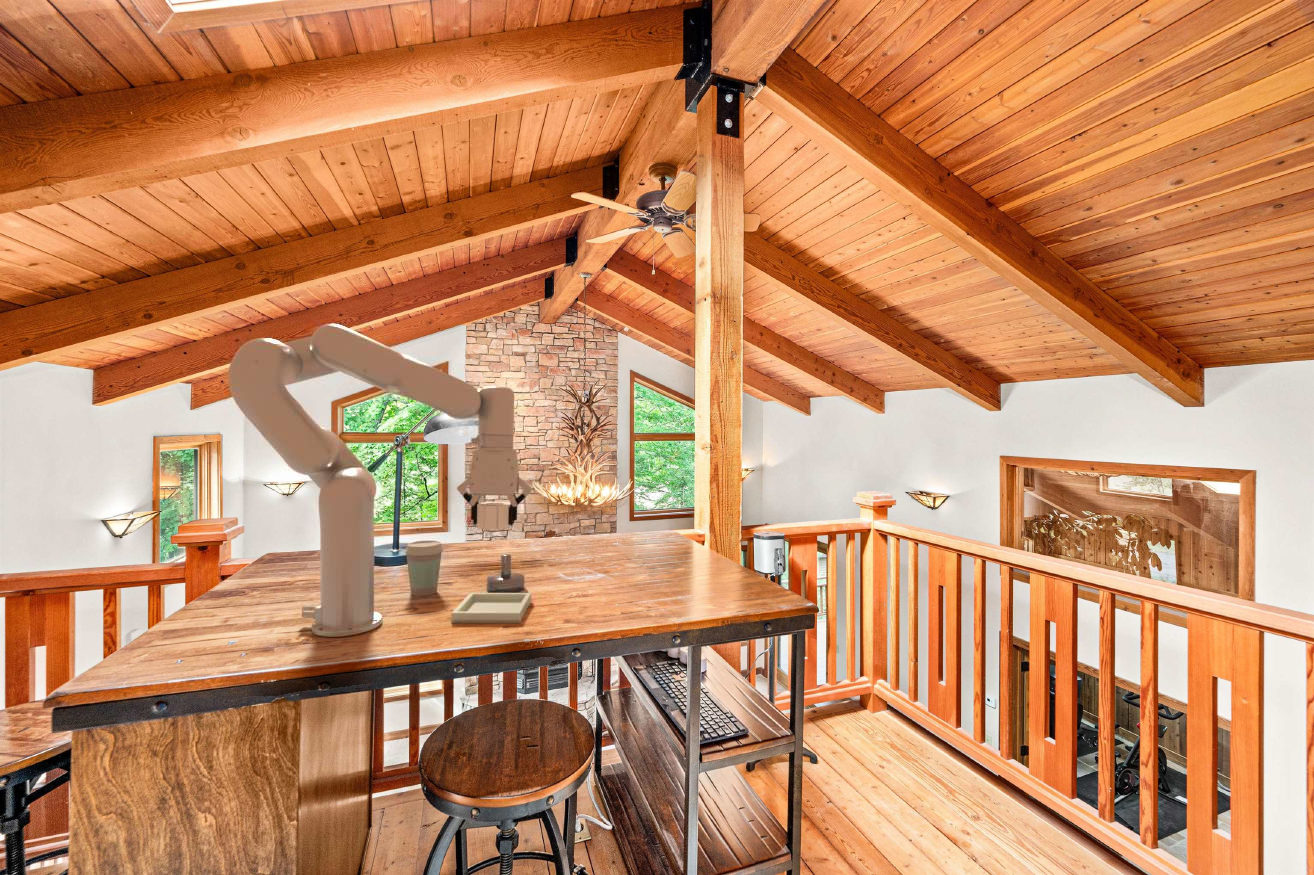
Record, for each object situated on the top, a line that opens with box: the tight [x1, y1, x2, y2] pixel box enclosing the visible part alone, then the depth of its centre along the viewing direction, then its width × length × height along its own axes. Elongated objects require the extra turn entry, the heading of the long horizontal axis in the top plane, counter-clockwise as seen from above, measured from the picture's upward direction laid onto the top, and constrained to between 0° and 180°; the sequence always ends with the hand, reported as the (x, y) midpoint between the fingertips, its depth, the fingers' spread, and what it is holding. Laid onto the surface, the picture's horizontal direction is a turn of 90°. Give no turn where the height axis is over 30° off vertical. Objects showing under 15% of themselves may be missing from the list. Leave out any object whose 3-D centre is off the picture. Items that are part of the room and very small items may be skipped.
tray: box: [450, 592, 532, 624], centre depth 127 cm, size 14×14×2 cm
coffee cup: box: [404, 539, 444, 597], centre depth 140 cm, size 8×8×12 cm
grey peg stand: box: [486, 553, 525, 593], centre depth 143 cm, size 9×9×8 cm
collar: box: [476, 501, 512, 530], centre depth 127 cm, size 7×7×5 cm
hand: (494, 522), depth 127 cm, fingers closed on collar, 7 cm apart
